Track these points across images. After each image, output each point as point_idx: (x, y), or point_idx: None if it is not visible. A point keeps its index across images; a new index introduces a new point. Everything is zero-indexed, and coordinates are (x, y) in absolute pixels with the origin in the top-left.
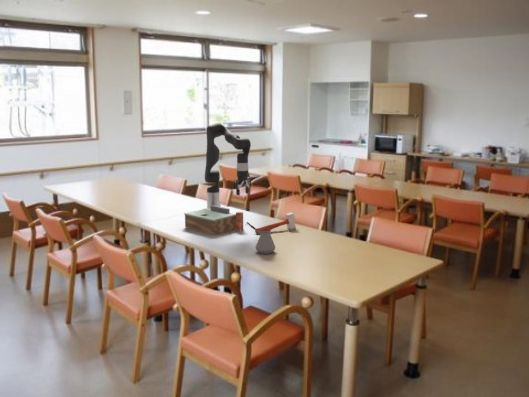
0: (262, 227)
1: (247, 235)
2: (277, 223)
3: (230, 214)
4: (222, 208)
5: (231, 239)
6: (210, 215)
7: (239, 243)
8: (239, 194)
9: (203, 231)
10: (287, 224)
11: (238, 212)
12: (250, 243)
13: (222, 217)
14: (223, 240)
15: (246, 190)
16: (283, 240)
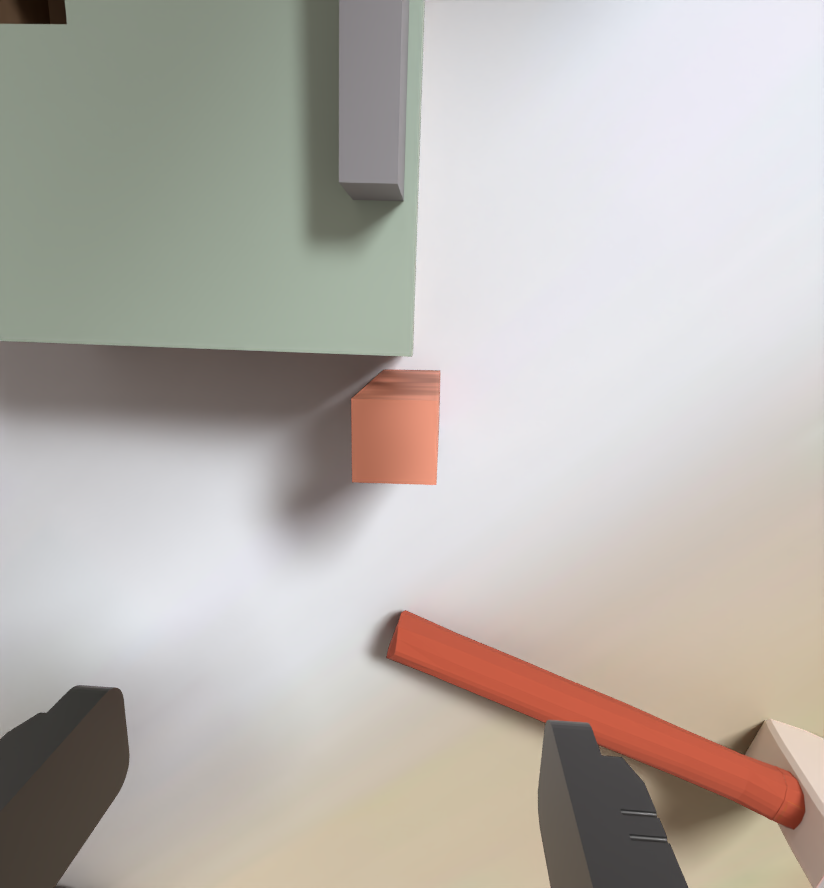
0: (458, 683)
1: (305, 586)
2: (644, 759)
3: (339, 289)
4: (340, 30)
5: (107, 559)
6: (59, 70)
7: (77, 682)
8: (99, 798)
9: None
10: (775, 761)
11: (372, 437)
12: (142, 744)
13: (114, 332)
14: (33, 526)
15: (562, 847)
16: (387, 881)
